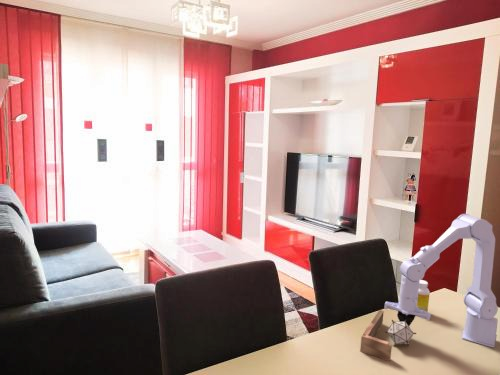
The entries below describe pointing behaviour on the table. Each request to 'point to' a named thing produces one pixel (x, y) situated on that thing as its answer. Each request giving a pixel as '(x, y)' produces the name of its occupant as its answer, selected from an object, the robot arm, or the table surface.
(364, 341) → the l-shaped bracket
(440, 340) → the table surface
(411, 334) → the game die
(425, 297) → the supplement bottle
